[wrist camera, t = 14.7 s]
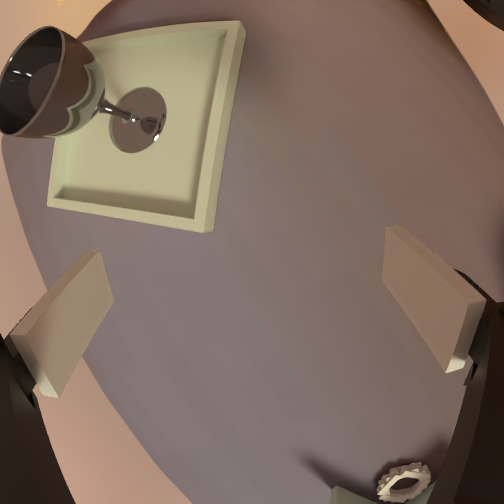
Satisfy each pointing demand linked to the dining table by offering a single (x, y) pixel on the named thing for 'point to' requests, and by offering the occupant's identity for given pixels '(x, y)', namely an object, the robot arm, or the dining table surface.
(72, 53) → the wine glass
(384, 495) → the l-shaped corner panel
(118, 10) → the dining table surface
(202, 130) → the tray
